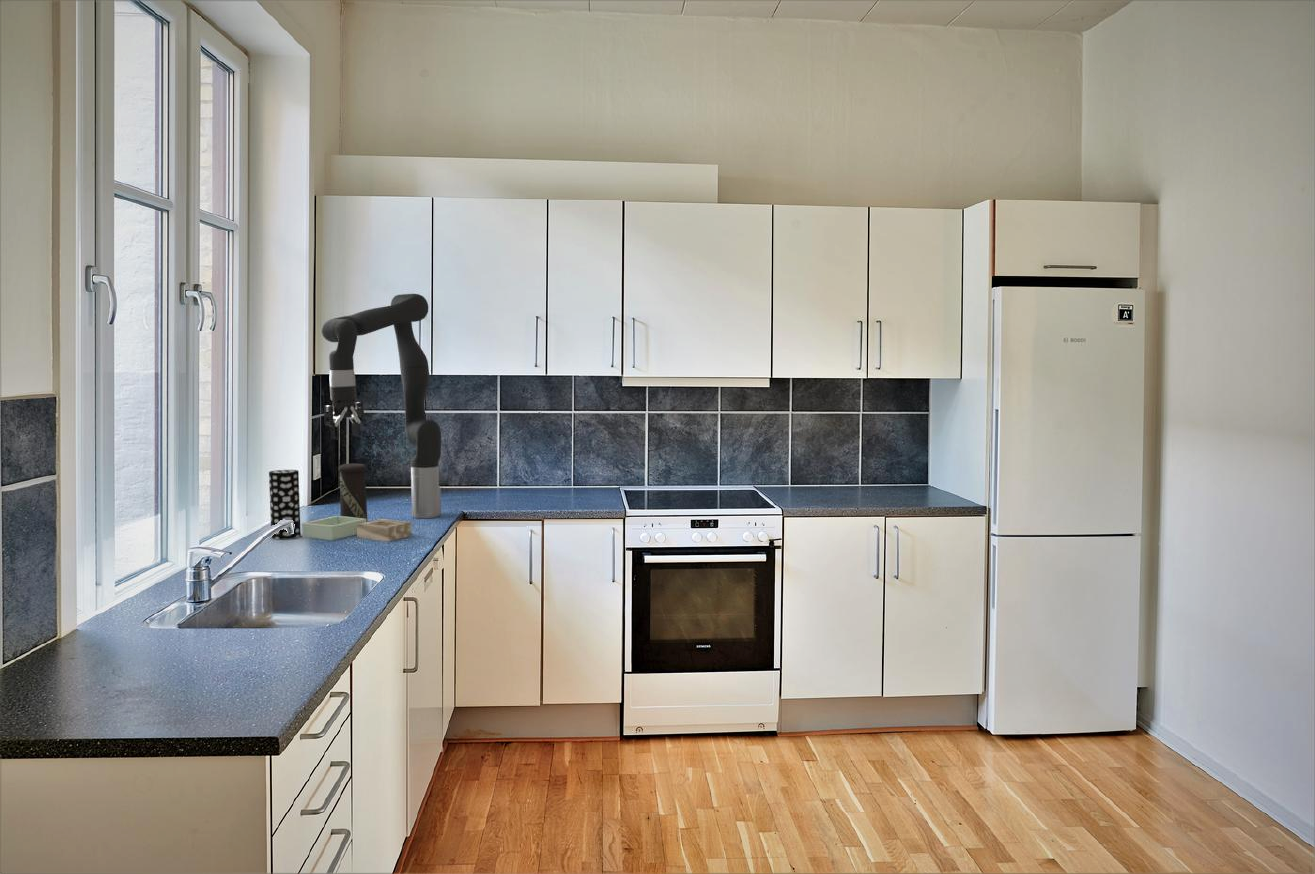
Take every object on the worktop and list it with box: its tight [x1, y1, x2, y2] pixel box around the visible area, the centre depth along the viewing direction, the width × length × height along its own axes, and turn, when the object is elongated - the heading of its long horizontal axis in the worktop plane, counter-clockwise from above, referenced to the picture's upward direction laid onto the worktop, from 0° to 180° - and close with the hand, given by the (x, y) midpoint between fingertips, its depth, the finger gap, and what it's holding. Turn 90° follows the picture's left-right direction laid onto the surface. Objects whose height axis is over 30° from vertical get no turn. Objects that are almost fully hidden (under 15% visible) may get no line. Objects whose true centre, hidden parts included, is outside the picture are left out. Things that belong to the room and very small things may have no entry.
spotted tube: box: [268, 469, 302, 540], centre depth 278 cm, size 8×8×20 cm
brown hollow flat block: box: [356, 518, 413, 542], centre depth 275 cm, size 10×12×5 cm
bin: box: [301, 515, 366, 541], centre depth 278 cm, size 14×12×5 cm
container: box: [337, 462, 368, 522], centre depth 298 cm, size 9×9×20 cm
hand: (345, 437), depth 282 cm, fingers open, 8 cm apart
